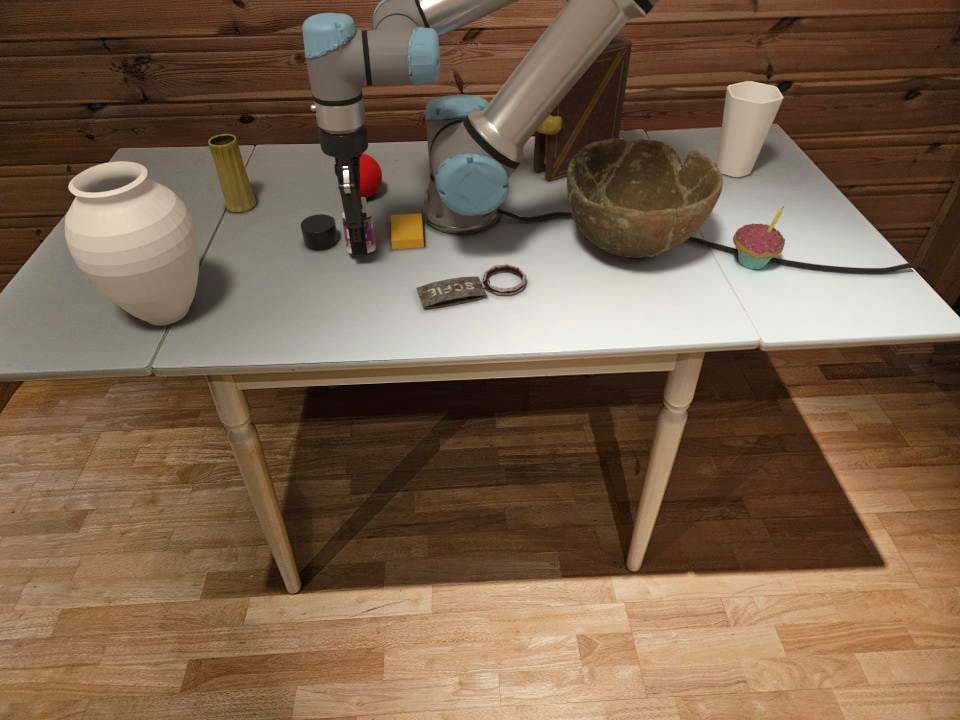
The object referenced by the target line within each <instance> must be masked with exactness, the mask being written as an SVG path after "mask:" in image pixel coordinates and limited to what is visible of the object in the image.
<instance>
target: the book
mask: <svg viewBox="0 0 960 720" xmlns="http://www.w3.org/2000/svg"><path fill="white" fill-rule="evenodd" d="M632 44H633V41H632V40H630V39H629V38H626V37H624V36H621V35H618V34H617V35H616V36H615V37H614V38H613V39H612V41H611V42H610V43H609V44H608V45H607V47H606V48H605V49H604V50H603V51H602V53H601V54H600V55H599V56H598V57H597V59H596V60H595V61H594V62H593V63H592V65H591V66H590V67H589V68H588V69H587V71H586V72H585V73H584V74H583V75H582V76H581V78H580V79H579V80H578V81H577V82H576V84H575V85H574V86H573V87H572V88H571V90H570V91H569V92H568V93H567V94H566V96H565V97H564V98H563V99H562V100H561V102H560V103H559V104H558V105H557V106H556V108H555V109H554V110H553V111H552V112H551V114H550V115H549V116H548V117H547V118H546V119H545V121H544V122H543V123H542V124H541V125H540V127H539V128H538V129H537V130H536V131H535V133H534V145H533V147H534V148H533V167H532V168H533V169H532V171H533V172H534V173H535V174H539V173H542V172H544V180H545V181H546V182H554V181H556V180H559V179H562V178H563V179H564V178H565V177H566V178H567V172H568V165H569V162H570V160H571V159H572V158H573V157H574V156H575V155H576V154H578V153H579V150H581V149H582V148H583V147H585V146H587V145H589V144H591V143H593V142H598V141H602V140H608V139H613V138H619V139H620V133H621V132H620V131H621V125H622V118H623V111H624V103H625V96H626V88H627V83H628V82H627V81H628V75H629V74H628V73H629V68H630V67H629V66H630V61H631V52H632Z"/></svg>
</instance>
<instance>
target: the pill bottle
mask: <svg viewBox="0 0 960 720" xmlns="http://www.w3.org/2000/svg"><path fill="white" fill-rule="evenodd" d="M361 201H362V205H363V208H362V213H367V218H362V220H363V221H364V228H365V236H366V244H367V254H369V253H372V252H374V251H375V250H376V239H375V230H374V223H373V222H374V221H373V214H372V210H370V209H369V208H367V205H368V202H367V198H365V197H361ZM341 220H342V222H343V221H345V220H346V219H345V214H344V211H343V212H342V214H341ZM342 228H343V234H344V241H345V247H346V252H347V253H348V254H351V255H352V251H351V244H350V237H349V231H348V228H347V226H343V227H342Z"/></svg>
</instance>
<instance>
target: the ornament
mask: <svg viewBox="0 0 960 720" xmlns="http://www.w3.org/2000/svg"><path fill="white" fill-rule="evenodd" d="M357 156H359V158H360V192H361V197H365V198H366V199H367V198H369V197H372V196H374V195H375V194H376V193H377V191H378V190H379V189H380V187H381V186H382V181H383V171H382V168H381V166H380V164H379V163H378V161H377V160H376V159H375V158H374V157H373V156H371V155H369V154H367V153H365V152H364V153H362V154H360V155H357Z"/></svg>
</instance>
